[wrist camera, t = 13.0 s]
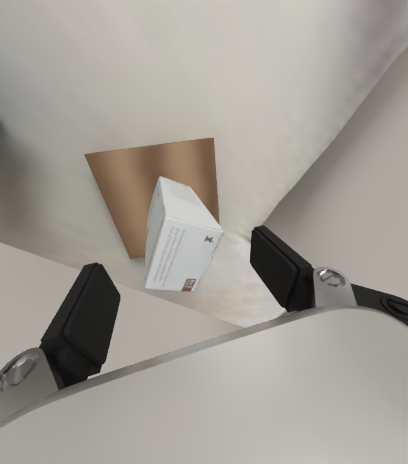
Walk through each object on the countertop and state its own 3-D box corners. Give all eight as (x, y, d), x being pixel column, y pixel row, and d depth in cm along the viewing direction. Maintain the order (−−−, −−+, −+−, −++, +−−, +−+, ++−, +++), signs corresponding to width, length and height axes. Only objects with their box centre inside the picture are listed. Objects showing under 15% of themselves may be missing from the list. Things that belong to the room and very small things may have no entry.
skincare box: (158, 174, 19) (160, 210, 9) (192, 186, 21) (228, 228, 11) (146, 220, 21) (137, 291, 11) (178, 227, 23) (196, 294, 13)
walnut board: (206, 138, 21) (213, 137, 19) (214, 229, 28) (220, 237, 26) (93, 152, 19) (84, 154, 16) (133, 247, 26) (130, 259, 24)
